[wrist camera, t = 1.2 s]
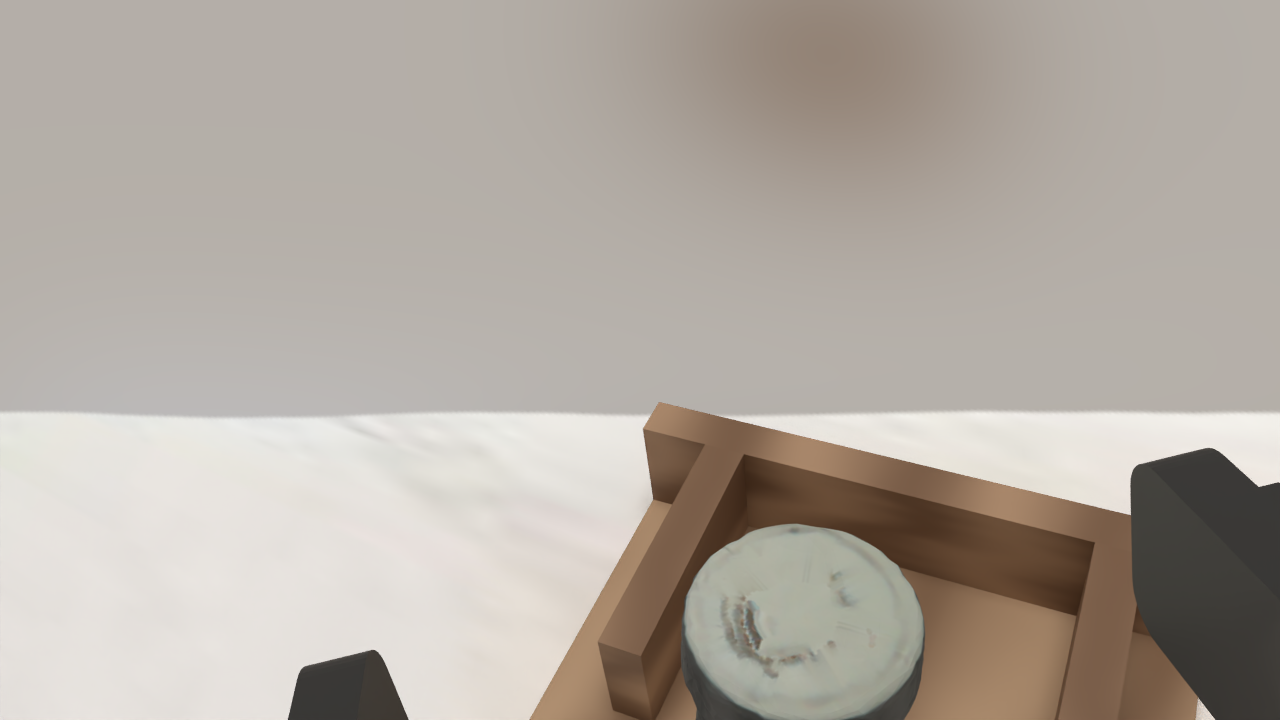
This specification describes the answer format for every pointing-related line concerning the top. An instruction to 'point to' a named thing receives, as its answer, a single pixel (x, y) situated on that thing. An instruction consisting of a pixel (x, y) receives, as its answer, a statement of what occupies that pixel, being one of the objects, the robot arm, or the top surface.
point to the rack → (911, 538)
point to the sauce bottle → (801, 630)
